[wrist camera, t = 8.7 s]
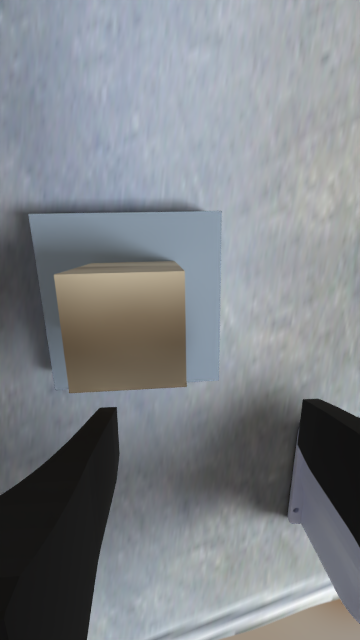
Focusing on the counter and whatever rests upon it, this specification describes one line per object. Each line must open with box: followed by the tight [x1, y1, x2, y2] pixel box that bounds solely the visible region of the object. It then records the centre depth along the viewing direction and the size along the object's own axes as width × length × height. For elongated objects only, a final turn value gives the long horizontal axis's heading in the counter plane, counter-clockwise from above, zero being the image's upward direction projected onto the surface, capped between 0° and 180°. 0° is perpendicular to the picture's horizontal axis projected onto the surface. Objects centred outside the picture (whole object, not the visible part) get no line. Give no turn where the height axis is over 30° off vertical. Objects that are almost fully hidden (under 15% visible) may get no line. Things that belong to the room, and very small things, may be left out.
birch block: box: [54, 261, 187, 393], centre depth 14 cm, size 4×4×6 cm
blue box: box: [28, 211, 222, 390], centre depth 18 cm, size 10×10×3 cm
